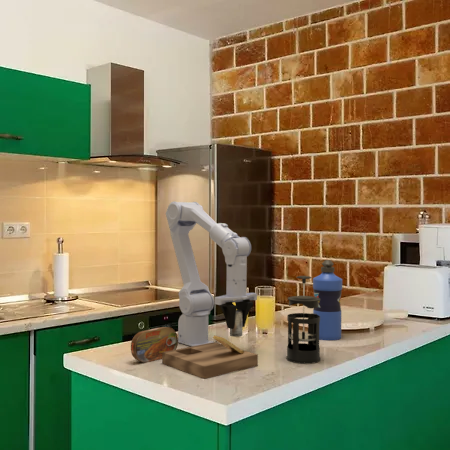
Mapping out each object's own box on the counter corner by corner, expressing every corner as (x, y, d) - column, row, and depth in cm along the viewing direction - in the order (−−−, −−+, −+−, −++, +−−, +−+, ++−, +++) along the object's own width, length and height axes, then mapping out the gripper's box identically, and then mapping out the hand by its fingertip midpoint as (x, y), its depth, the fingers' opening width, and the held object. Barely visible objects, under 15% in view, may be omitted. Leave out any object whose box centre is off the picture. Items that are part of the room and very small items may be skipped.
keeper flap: (212, 338, 149) (214, 334, 149) (232, 351, 154) (234, 348, 154) (222, 340, 146) (224, 337, 146) (242, 354, 151) (244, 351, 151)
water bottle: (338, 334, 190) (338, 259, 189) (344, 340, 180) (345, 261, 180) (310, 334, 189) (310, 258, 189) (315, 340, 180) (316, 261, 179)
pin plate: (162, 363, 152) (162, 352, 152) (214, 352, 164) (214, 342, 164) (204, 378, 139) (204, 366, 138) (257, 365, 150) (257, 354, 150)
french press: (309, 366, 150) (310, 279, 150) (278, 360, 156) (279, 276, 155) (329, 357, 160) (330, 275, 159) (299, 351, 165) (300, 272, 165)
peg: (227, 334, 163) (227, 310, 163) (236, 333, 165) (236, 309, 165) (235, 337, 160) (236, 312, 160) (245, 335, 162) (245, 311, 162)
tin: (135, 365, 150) (136, 333, 150) (128, 363, 152) (128, 331, 152) (178, 355, 161) (179, 325, 161) (171, 353, 163) (171, 323, 163)
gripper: (226, 283, 154) (226, 333, 155) (264, 279, 164) (263, 326, 164) (210, 280, 160) (209, 328, 160) (247, 276, 169) (247, 322, 170)
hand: (236, 327), depth 163 cm, fingers closed on peg, 4 cm apart
